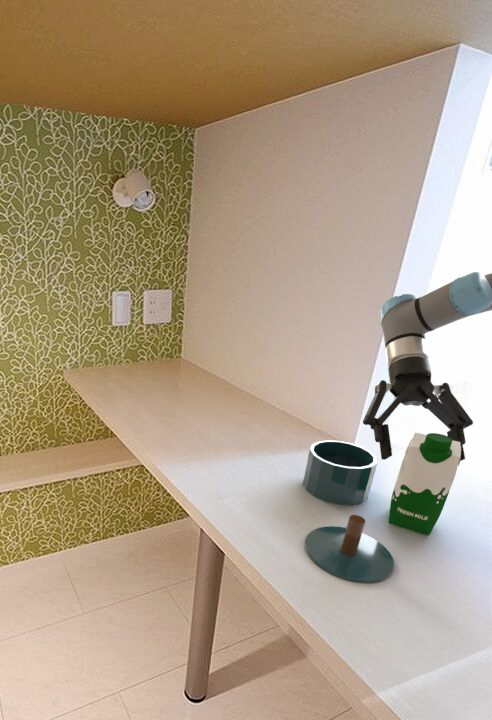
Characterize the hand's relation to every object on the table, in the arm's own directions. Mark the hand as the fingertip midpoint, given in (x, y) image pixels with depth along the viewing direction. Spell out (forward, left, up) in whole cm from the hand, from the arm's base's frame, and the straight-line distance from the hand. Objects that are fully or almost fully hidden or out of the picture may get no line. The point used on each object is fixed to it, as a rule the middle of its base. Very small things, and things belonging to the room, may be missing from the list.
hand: (422, 459), depth 85 cm
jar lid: (-6, +21, -13) cm, 25 cm away
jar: (+13, +7, -13) cm, 20 cm away
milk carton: (-2, +1, -13) cm, 14 cm away
